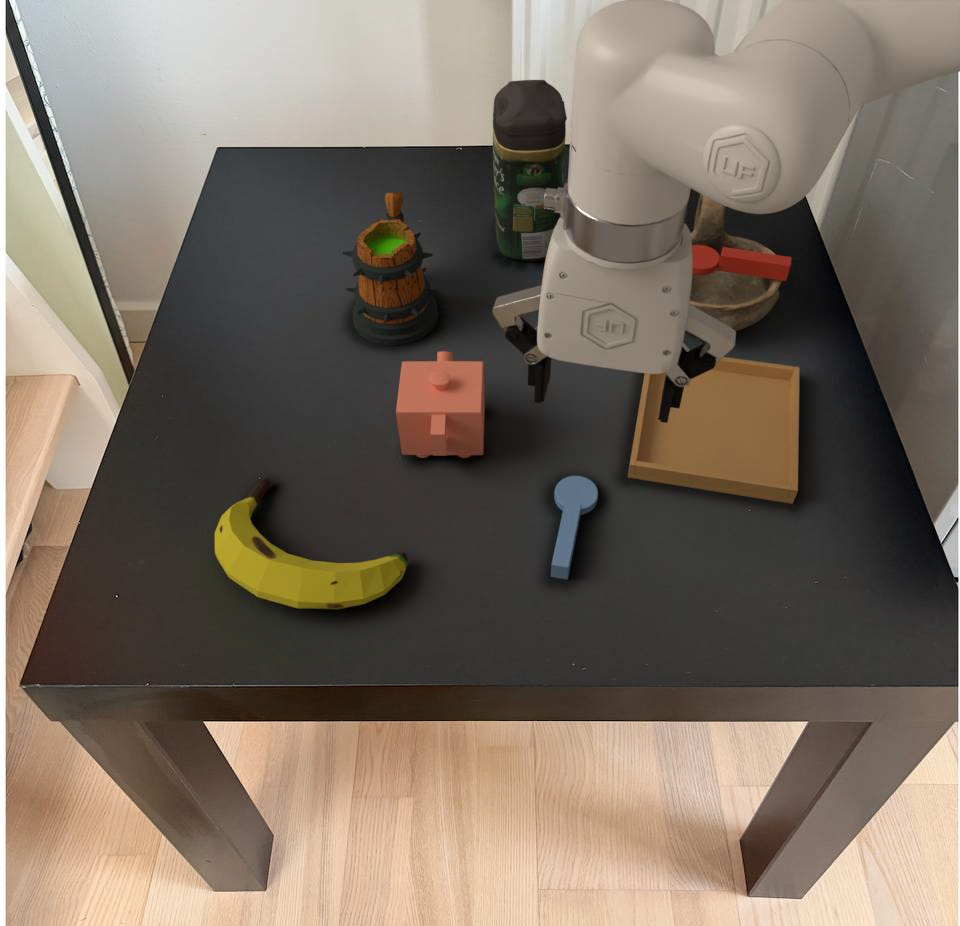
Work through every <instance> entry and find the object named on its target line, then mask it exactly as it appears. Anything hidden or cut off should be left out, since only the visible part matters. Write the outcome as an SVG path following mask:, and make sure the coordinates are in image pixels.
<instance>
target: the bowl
mask: <svg viewBox="0 0 960 926" xmlns="http://www.w3.org/2000/svg"><path fill="white" fill-rule="evenodd" d="M725 212H726V206H724V205H722V204H720V203H717V202H715V201H713V200H711V199H709V198H707V197H706V196H704V195H702V194H700V193H699V198H698V202H697V207H696V211H695V217H694V222H693V231H692V232H690V233H691V241H692V246H693V245H704V246H708V247H710V248H712V249H714V250H715V251H717V253H718V254H719V256H721V252H722V247H727V248H734V249H740V250H747V251H754V252H760V253H767V254H773V255H777V254H775V252H774V251H772V250H771V249H769V248H768V247H766V246H765V245H762V243H759V242H758V241H756V240H752V239H748V238H744V237H741V236H735V235H730V234H728V233H727V231H726V230H725ZM782 282H783V281H782V280H775V279H769V278H762V277H756V276H750V275H743V274H737V273H730V272H724V271H718V268H717V270H716V271H715V272H713V273H711V274H708V275H695V274H692V284H691V294H690V301H689V304H691V305H692V306H694V307H696V308H698V309H699V310H701V311H703V312H705V313H706V314H708V315H710V316H712V317H713V318H715V319H717V320H719V321H720V322H722V323H724V324H725V325H727V326H729V327H731V328H732V329H734V330H735V331H736V332H737V331H741V330H743V329H747V328H749V327H751V326H752V325H754V324H756V323H758V322H759V321H761V320H762V319H763V318H765V316H767V315H768V314H769V312H770V311H771V310H772V309H773V307H774V306H775V304H776V303H777V301H778V299H779V297H780V291H779V290H778V289H779V288H780V286H781V284H782Z"/></svg>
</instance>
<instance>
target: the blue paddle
mask: <svg viewBox="0 0 960 926" xmlns="http://www.w3.org/2000/svg"><path fill="white" fill-rule="evenodd" d="M553 495H554V496H553V497H554V502H555V504H556V505H555V506H557V508H558V509H559V510H561V512H562V514H561V519H560V523H559V528H558V533H557V536H556V542H555V546H554V552H553V555H552V561H551V568H550V577H551V578H556V579H560V580H565V581H566V580H569V575H570V570H571V565H572V560H573V555H574V550H575V545H576V540H577V535H578V530H579V525H580V521H581V516H582V515H585V514H588V513H590V512H592V510H594V508H595V507H596V505H598V504H597V503H598V498H599V491H598V488H597V486H596V484H595V483H594V482H593V481H592V480H591V479H589V478H588V477H585V476H582V475H570V476H566V477H564V478H562V479H561V480H560V481H559V482H557V484H556V486H555V488H554V494H553Z"/></svg>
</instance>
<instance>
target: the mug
mask: <svg viewBox="0 0 960 926" xmlns="http://www.w3.org/2000/svg"><path fill="white" fill-rule="evenodd" d="M384 200H385V201H384V202H385V205H386V210H387V213H386V219H377V220H375V221H374V222H373V223H372V224H370V226H368V227H367V228H365V229H364V230H363V231H362V232H360V234H359V235H358V237H357V239H356V244H355V245H354V246H353V250H348V251H343V252H342V255H343V256H344V255H345V256H347V257H351V261H352V265H353V267H354V269H355V272H354V273H353V274H352V276H353V277H357V281H356V285H355V287H346V288H345V291H346V292H350V293H352V294H354V305H353V307H352V322H353V327H354V328H355V330H356V332H357V333H358V334H359V335H360V337H362V338H363V339H365V340H367V341H369V342H370V343H372V344H376V345H382V346H388V347H393V346H394V347H395V346H401V345H402V346H403V345H404V346H405V345H409V344H411V343H414V342H416V341H419V340H421V339H423V338H424V337H426V336H427V335H428V334H429V333H431V331H433V330H434V328H435V326H436V324H437V321H438V319H439V310H438V303H437V300H436V298H435V297H434V296H433V295H436V294H439V293H440V290H439V289H431V285H430V282H429V280H428V279H427V277H426V274H425V272H426V271H427V270H428V268H427V267H423V268H422V265H423V260H424V259H427V258H431V257H433V253H432V252H431V253H430V252H424V250H423V247H422V245H421V243H420V241H419V239H418V238H419V237H420V236H421V235H422V233H421V232H420V231H419V232H418V233H414V232H413V231H412V230H411V229H410V228H409V226H408V225H407V224H406V223H405V219H404V214H403V212H402V206H403V202H404V196H403V193H402V192H386V193H385V196H384Z"/></svg>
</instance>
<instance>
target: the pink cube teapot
mask: <svg viewBox="0 0 960 926" xmlns="http://www.w3.org/2000/svg"><path fill="white" fill-rule="evenodd" d="M436 355H437V356H436V357H437V358H436V360H428V361H427V360H425V361H423V360H419V361H418V360H417V361H416V360H415V361H414V360H413V361H411V360H410V361H406V360H405V361H401V368H400V375H399V384H398V391H397V392H398V393H397V401H396V408H395V416H396V423H397V431H398V436H399V444H400V450H401V455H403V456H412V455H413V456H416V457H418V458H420V459H424V458H425V459H426V458H429V456H434V457H435V456H437V457H439V456H441V457H443V456H444V457H447V456H458V457H459V458H460V459H461V458H462V459H467V458H470V457H471V456H484V444H485V443H484V442H485V441H484V438H485V417H486V416H485V415H486V414H485V412H486V410H485V409H486V398H485V397H486V396H485V393H486V392H485V369H484V367H485V366H484V361H481V360H476V361H475V360H474V361H473V360H469V361H468V360H458V361H457V360H454V355H453V351H448V350H447V351H444V350H443V351H437V354H436Z"/></svg>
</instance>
